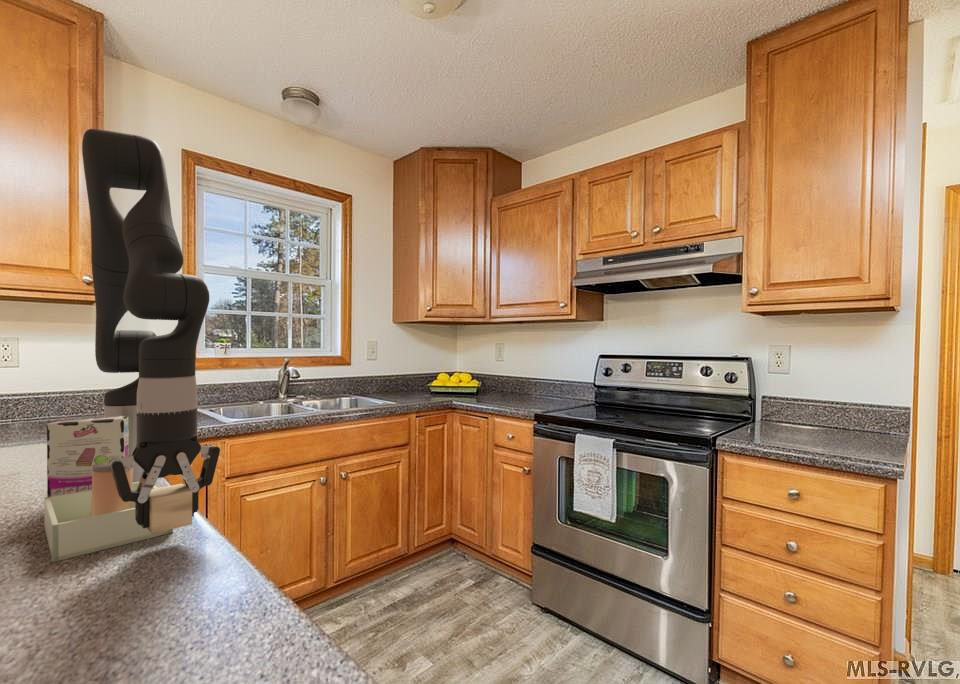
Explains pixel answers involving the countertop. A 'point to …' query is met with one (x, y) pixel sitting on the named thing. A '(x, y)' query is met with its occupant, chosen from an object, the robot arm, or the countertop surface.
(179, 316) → the robot arm
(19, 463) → the countertop surface
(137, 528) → the tote
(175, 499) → the maple block
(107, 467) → the spice jar
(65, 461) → the candy bar box
